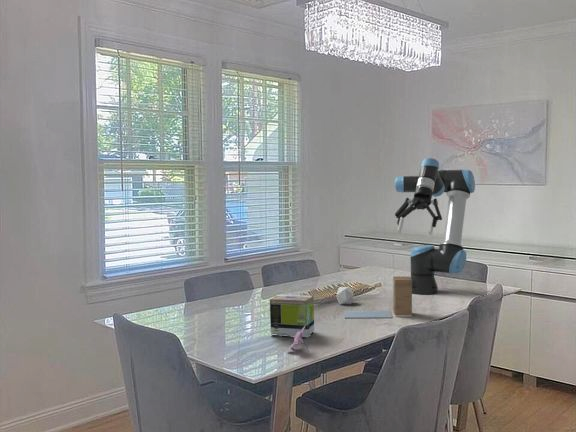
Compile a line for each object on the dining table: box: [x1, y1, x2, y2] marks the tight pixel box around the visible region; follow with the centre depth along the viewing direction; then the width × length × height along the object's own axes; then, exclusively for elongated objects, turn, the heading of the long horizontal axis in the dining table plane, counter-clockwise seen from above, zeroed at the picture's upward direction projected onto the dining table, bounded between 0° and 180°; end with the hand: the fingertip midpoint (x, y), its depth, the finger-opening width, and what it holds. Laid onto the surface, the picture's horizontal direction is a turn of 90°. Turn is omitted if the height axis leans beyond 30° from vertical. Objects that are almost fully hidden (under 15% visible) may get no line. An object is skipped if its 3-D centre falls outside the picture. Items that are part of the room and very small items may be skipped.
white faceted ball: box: [335, 286, 355, 305], centre depth 280 cm, size 8×9×10 cm
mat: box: [343, 309, 393, 319], centre depth 259 cm, size 12×20×1 cm, turn 87°
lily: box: [288, 325, 309, 351], centre depth 211 cm, size 11×11×9 cm
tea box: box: [269, 293, 315, 338], centre depth 231 cm, size 15×10×15 cm
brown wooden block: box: [392, 275, 413, 318], centre depth 257 cm, size 7×7×16 cm
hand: (414, 232), depth 252 cm, fingers open, 13 cm apart
